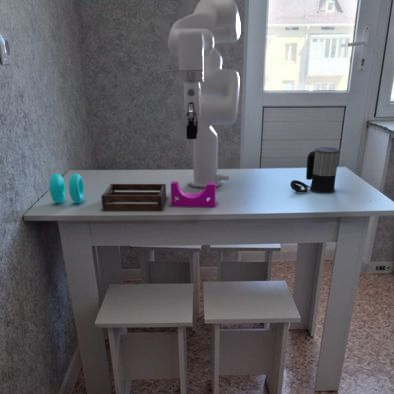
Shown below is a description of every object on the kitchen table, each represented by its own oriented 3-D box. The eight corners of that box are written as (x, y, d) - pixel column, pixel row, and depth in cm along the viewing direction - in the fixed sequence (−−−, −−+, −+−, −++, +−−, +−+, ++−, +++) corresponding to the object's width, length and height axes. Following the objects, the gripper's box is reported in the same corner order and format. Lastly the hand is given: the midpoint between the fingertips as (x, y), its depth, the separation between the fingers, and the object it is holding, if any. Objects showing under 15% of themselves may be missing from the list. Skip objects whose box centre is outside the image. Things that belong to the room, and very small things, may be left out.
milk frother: (339, 190, 187) (345, 149, 179) (317, 198, 177) (322, 155, 169) (307, 184, 195) (311, 144, 187) (284, 191, 185) (288, 150, 178)
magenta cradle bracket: (215, 202, 174) (215, 180, 170) (214, 207, 168) (214, 184, 164) (173, 201, 175) (173, 179, 171) (171, 206, 169) (170, 184, 165)
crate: (166, 197, 179) (165, 183, 176) (161, 210, 165) (160, 195, 162) (112, 197, 180) (110, 183, 177) (102, 210, 165) (101, 195, 163)
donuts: (59, 199, 178) (54, 170, 173) (86, 199, 178) (82, 170, 173) (51, 206, 170) (46, 177, 165) (79, 206, 170) (75, 177, 164)
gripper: (203, 79, 144) (203, 141, 153) (204, 74, 159) (204, 131, 168) (177, 79, 144) (179, 141, 154) (181, 74, 159) (182, 131, 168)
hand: (192, 136), depth 161 cm, fingers open, 9 cm apart
